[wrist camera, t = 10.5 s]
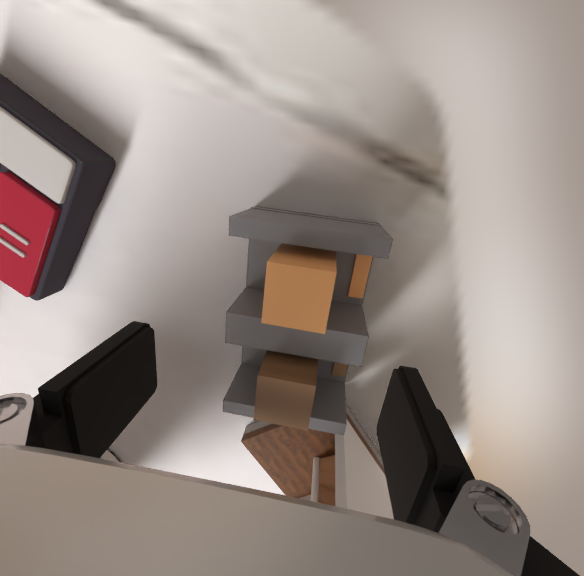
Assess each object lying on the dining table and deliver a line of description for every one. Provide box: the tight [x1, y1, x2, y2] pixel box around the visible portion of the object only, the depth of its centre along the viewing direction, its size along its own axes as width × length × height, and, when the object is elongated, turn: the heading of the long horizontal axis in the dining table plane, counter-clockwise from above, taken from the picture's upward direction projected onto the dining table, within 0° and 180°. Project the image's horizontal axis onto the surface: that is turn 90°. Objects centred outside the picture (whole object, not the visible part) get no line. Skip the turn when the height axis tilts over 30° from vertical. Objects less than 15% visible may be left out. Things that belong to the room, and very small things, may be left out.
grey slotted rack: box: [223, 206, 393, 436], centre depth 23 cm, size 16×10×6 cm, turn 173°
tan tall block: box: [261, 243, 337, 334], centre depth 20 cm, size 4×4×7 cm
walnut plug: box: [254, 350, 318, 431], centre depth 23 cm, size 4×4×7 cm
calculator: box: [0, 74, 116, 300], centre depth 24 cm, size 11×4×15 cm
